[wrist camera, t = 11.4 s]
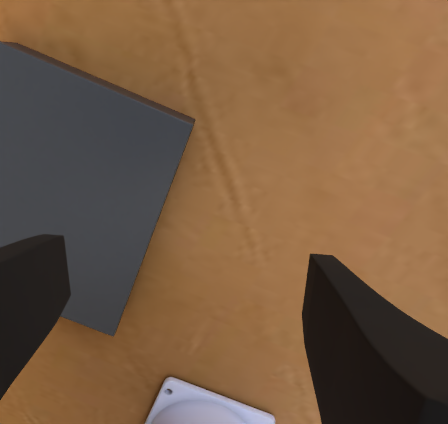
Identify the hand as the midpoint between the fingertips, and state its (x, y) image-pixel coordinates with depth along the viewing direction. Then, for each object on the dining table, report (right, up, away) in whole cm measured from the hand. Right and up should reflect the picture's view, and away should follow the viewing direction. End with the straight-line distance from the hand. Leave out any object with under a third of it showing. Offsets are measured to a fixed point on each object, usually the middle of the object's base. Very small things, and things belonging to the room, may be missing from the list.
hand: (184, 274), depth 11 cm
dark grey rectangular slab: (-7, +3, +11) cm, 13 cm away
